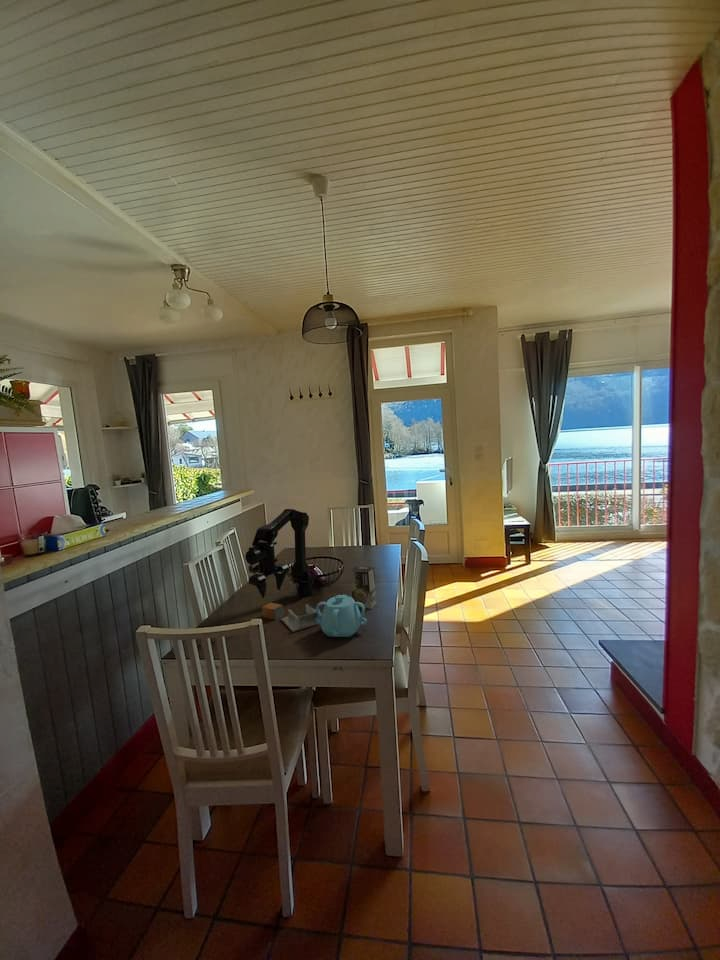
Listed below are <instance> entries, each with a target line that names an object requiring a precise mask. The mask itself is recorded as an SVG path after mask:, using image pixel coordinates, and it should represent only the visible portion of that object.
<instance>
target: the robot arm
mask: <svg viewBox="0 0 720 960" xmlns="http://www.w3.org/2000/svg"><path fill="white" fill-rule="evenodd" d="M309 521H310V517H309V514H308V513H307V512H304V511H298V510H296V509H294V508H286V509H284V510H283V511H282V512H281V513H280V514H279V515H277V517H275V518H274V519H273V520H272V521H270V522H269V523H268V524H264V525H262V526H260V527H258V529H257V530H256V533H255V536H254V538H253V542H252V543H251V544H252V546H250V547H248V551H246V553H245V557H244V558H245V560H246V563H247V564H248V571H249V574H253V575H251V576H249V577H248V584H249V585H252V586H255V587H256V589H257V590H258V592H259V594H260V596H261V598H262V599H265V598H266V594H267V593H266V592H267V578H269V577H271V576H274V577H275V583H276V589H277V591H281V587H282V586H283V584H284V581H285V578H286V576H287V574H288V572H290V576H291V579H292V581H293V583H294V584H296V586H295V590H296V591H295V592H296V595H297V596H298V597H299V598H301V599H302V598H306V597H310V596H313V595H314V592H313V588H312V587H313V586H312V584H313V583H314V581H315V576H314V574H312V572H311V571H310V566H309V564H308V563H307V556H306V554H307V553H306V550H307V549H306V548H307V547H306V530H307V528H308V527H309ZM289 522H290V526H291V528H292V530H293V531H294V564H293V565H292V566H291V567H289V565H288V564H286V563H285V564H284V563H277V562H278V558H276V554H275V546H276V545H277V544H278V542H277V541H275V539H276V538H277V537H278V535H279V531H281V529H282V528H284V526H285V525H287V524H288V523H289ZM276 563H277V564H276ZM257 573H258V574H257Z"/></svg>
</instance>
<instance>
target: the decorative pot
mask: <svg viewBox="0 0 720 960" xmlns="http://www.w3.org/2000/svg"><path fill="white" fill-rule="evenodd" d="M357 605H359V606H361V611H360V609H359V608H360V607H358V606H357ZM320 606H324V607H323V610H322V612H321V610H320ZM315 609H316V611H317V614H318V616H319V617H318V618H317V619H316V623H317V625H320V628H321V631H322V632H323V634H324V635H326V636H327V637H330V638H333V637H334V638H343V637H344V638H350V637H352V636H353V635H354V634H355V633H357V631H358V630H359V629H360V626H365V625H366V624H368V623H367V622H368V620H367V618H365V617H364V615H365V611H366V608H365V607H364V605H363V604H362V603H360V602H355V601H354V599H353V598H352V596H349V595H347V594H338V595H335V596H333V597H330V598H329V599H328V600H327V601H320V602H318V603H317V604H316V607H315ZM321 614H322V615H321ZM318 619H320V621H319V620H318Z"/></svg>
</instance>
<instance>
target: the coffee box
mask: <svg viewBox="0 0 720 960" xmlns="http://www.w3.org/2000/svg"><path fill="white" fill-rule="evenodd" d="M349 575H350V576H349V577H350V588H351V589H350V591H351V597H352V598H353V599H354V601H355V602H360V603H362V604H363V605H364V607H365V609H371V610H372V609H373V608H375V606H376V605H377V591H376V577H375V567H368V566H354V567H353V568H352V569H351V570H350V571H349ZM357 606H358V608H361V606H359V605H357ZM361 609H362V608H361Z"/></svg>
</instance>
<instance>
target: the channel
mask: <svg viewBox="0 0 720 960" xmlns="http://www.w3.org/2000/svg"><path fill="white" fill-rule="evenodd" d="M305 610H306V611H305V612H306V613H305V614H301V615H297V614H295V613H294V611H293V610H292V609H290V608H289V609H287V616H284V617H280V619H281V622H283V624H284V625H285V626H286V627H287V628H288V629H289V630H290V631H291V632H292V633H295V632H297V631H300V630H304V629H307V628H310V627H314V626H317V625H318V624H317V623H316V619H317V618H318V617H319V616H318V614H317V611H316V608H313V607H312V606H311V605H310V604H306V605H305ZM321 615H322V613H321ZM318 620H319V621H320V619H318Z"/></svg>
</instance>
